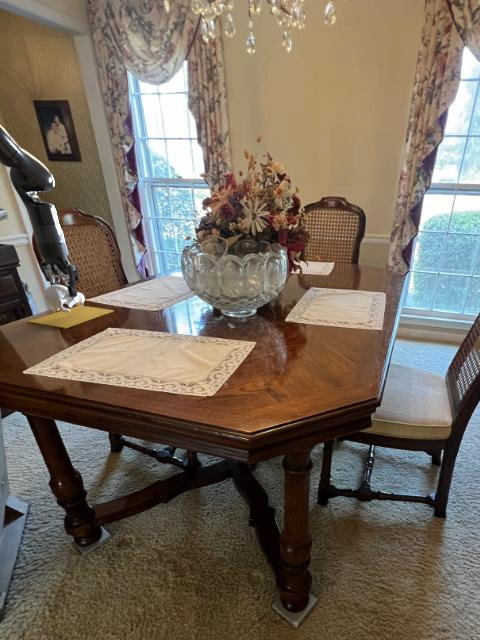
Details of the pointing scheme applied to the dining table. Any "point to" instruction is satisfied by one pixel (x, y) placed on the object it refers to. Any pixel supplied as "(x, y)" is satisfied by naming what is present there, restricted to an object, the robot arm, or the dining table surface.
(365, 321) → the dining table surface
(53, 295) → the white animal figurine
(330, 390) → the dining table surface
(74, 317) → the cloth
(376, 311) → the dining table surface
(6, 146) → the robot arm
